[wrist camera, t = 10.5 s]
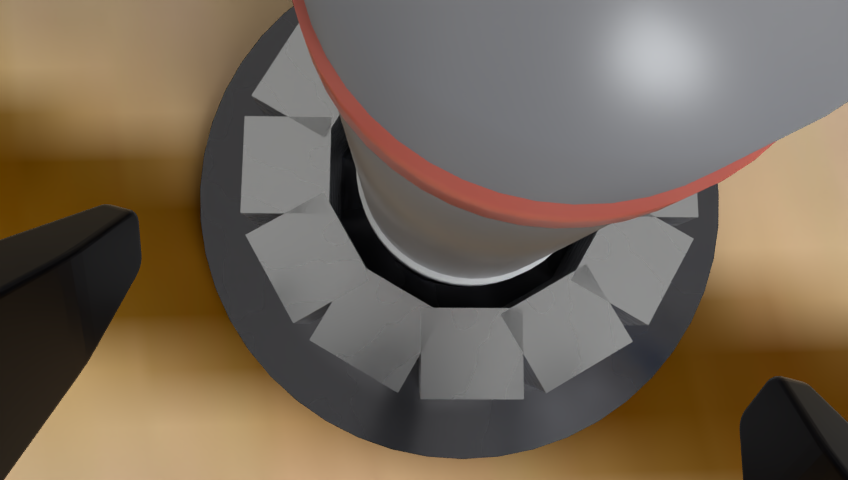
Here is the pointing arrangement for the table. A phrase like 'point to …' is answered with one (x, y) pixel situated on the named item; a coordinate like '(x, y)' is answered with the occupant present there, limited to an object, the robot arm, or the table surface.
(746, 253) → the table surface
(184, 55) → the table surface
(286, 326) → the collar mount
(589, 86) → the lens tube
